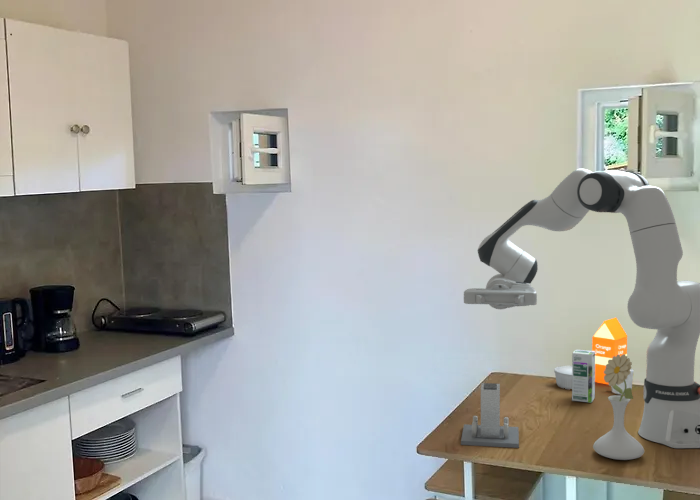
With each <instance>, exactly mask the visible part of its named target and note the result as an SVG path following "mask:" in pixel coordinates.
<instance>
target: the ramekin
mask: <svg viewBox="0 0 700 500" xmlns="http://www.w3.org/2000/svg"><path fill="white" fill-rule="evenodd" d="M554 375H555V376H554V377H555V383H556V385H557V387H558V388H561V389H564V388H565V390H570V389H572V365H560V366H557V367H554Z"/></svg>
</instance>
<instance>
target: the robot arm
mask: <svg viewBox="0 0 700 500" xmlns="http://www.w3.org/2000/svg"><path fill="white" fill-rule="evenodd" d="M590 211H592V212H595V213H609V214H610V213H611V214H617V213H618V214H619V213H620V214H622V215H623V216H624V217H625V219H626V222H627V226H628V231H629V234H630V239H631V242H632V243H631V244H632V248H633V253H634V257H635V258H634V259H635V262H636V263H635V264H636V276H635V283H634V289H633V291H632V293H631V294H630V296H629V299H628V301H627V312H628V316H629V318H630V320H631V321H632V322H633V323H634V324H635V325H636V326H638V327H640V328H643V329H649V330H657V331H656V334H655V336H654V338H653V340H651V342H650V343H649V344H648V347H647V349H646V363H645V364H646V365H645V366H646V367H645V369H646V370H645V371H646V372H645V378H644V382H643V401H644V405H643V406H644V407H643V412H642V413H643V414H642V417H641V422H640V426H639V428H638V432H637V433H638V435H639V436H640V437H642V438H644V439H646V440H647V441H651V442H655V443H658V444H660V445H665V446H667V447H670V448H672V449H673V448H674V449H700V383H697V381H694V379H695V361H696V359H695V357H696V350H697V345H698V341H699V339H700V282H697V281H692V280H678V279H677V278H678V265H679V263H680V261H681V260H682V257H683V255H684V254H683V253H684V252H683V247H682V243H681V240H680V234H679V232H678V227H677V224H676V220H675V217H674V216H675V215H674V214H673V209H672V208H671V205H670V202H669V200H668V198H667V195H666V194H665V192H664V191H663V190H662V189H661V188H660V187H658V186H654V185H650V183H649V181H648V180H647V179H646V177H644V176H643V175H641V174H638V173H637V172H631V171H627V172H626V171H623V170H622V171H621V170H613V169H612V170H597V171H595V170H594V171H591V170H589V169H586V168H577V169H575V170H573V171H572V172H570V174H568V175H567V176H565V178H563V180H561V181H560V182H559V184H558V185H557V186H556V187H555V188H554V190H552V192H551V193H550V194H549V195H548V196H547V197H545V198H542V199H540V200H539V199H532V200H530V201H529V202H527V203H525V204H524V205H523V206H521V208H520V209H518V210H516V212H514V214H513V215H512V216H511V217H509V218H508V219H506V221H505V222H504V223H503V224H501V225H500V226H499V227H498V228H497V229H495V230H494V231H493V232H492V233H490V234H489V235H487V236H485V237H484V239H482V240H481V242H480V244H479V246H478V248H477V254H478V258H479V260H480V262H481V263H484V264H485V265H487V266H488V267H491V268H492V269H493V270H495V271H496V272H497V273H498V274H495V275H493V276H491V277H490V278H489V279H488V281H487V283H486V285H485V288H480V287H479V288H468V289H467V288H466V289H465V290H464V291H463V303H464V304H466V305H489V306H490V307H491V308H493V309H496V310H505V309H510V308H515V307H527V306H528V307H529V306H536V305H537V303H538V299H537V296H538V295H537V290H536V289H535V288H534V287H532V285H531V284H532V282H533V281H534V279H535V277H536V274H537V273H538V270H539V269H538V261H537V259H536V258H535V257H534V256H532V255H531V254H530V253H528V252H527V251H525V250H524V249H522V248H520V247H519V246H518V245H516V244H515V243H513V242H512V241H511V240H510V239H509V238H510V237H512V236H513V235H514V234H515V233H517V231H519V229H521V228H522V227H525V226H534V227H538V228H542V229H544V230H548V231H551V232H552V231H553V232H566V231H570V230H572V229H574V227H576V226H577V225H578V224H579V223H580V222H581V221H582V220H583V219H584V217H585V216H586V215H587V214H588V213H589V212H590Z"/></svg>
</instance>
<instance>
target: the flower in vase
mask: <svg viewBox="0 0 700 500" xmlns="http://www.w3.org/2000/svg"><path fill="white" fill-rule="evenodd" d="M632 362H633V361H631V360H630V358H628V355H627V356H625V354H623V355H621V357H620V355H619V354H618V355H617V356H613V358H612V360H608V364H606V368H605V370H604V374H606V375H605V376H604V380H605V382H606V383H608V382H609V383H608V384H609V385H608V384H607V385H608V386H609V387H611V385H612V387H613V388H614V389H615V390H616V391H618V392H619V393H621V394H622V395H621V394H620V395H610V396H607V399H608V401H610V404H611V406H612V411H613V424H612V425H613V426H612V428H611V429H610V430H609V431H608V432H606V433H605V434H603V435H601V436H600V437H598V439H596V440H595V442H594V443H593V445H592V448H593V450H594V451H595V452H596V454H599V456H602V457H605V458H609V459H611V460H612V459H613V460H620V461H628V460H629V461H630V460H634V459H638V458H640V457H643V455H644V453H645V449H644V446H643V445H642V443H640V441H638V440H637V439H636V438H635V437H633V436H632V435H631V434H630V433H628V431H627V430H626V428H625V413H626V408H627V405H628V404H629V402H631V400H633V399H634V396H633V391H632V390H631V388H627V389H626V387H627V386H626V381H625V379H627V376H628V375H629V374H630V373H631V371H630V370H631V369H632V366H633V365H632V364H633V363H632ZM623 382H624V383H625V389H624V392H623V391H622V389H621V388H620V387H618V386H617V385H619V384H621V383H623ZM616 384H617V385H616ZM624 393H625V395H624Z"/></svg>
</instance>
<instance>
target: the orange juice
mask: <svg viewBox="0 0 700 500" xmlns="http://www.w3.org/2000/svg"><path fill="white" fill-rule="evenodd" d="M591 339H592V340H591V341H592V343H591V345H592V347H591V351H595V383H598V384H604V385H608V386H609V384H608V383H609V382H608V383H606V382H605V380H604V376H605V375H606V374H604V370H605V368H606V364H608V360H612V358H613V356H617V355H618V354H619V355H620V357H621V355H623V354H625V356H627V357H628V335H627V333H626V331H625V330H624V328H623V326H622V324H621V323H620V321H619V320H618V318H617V317H613V318H610V319H606V320H604V321H603V322H602V324H601V325H600V326H599V327H598V329H597V331H596V332H595V333H594V334H593V336H592V338H591Z"/></svg>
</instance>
